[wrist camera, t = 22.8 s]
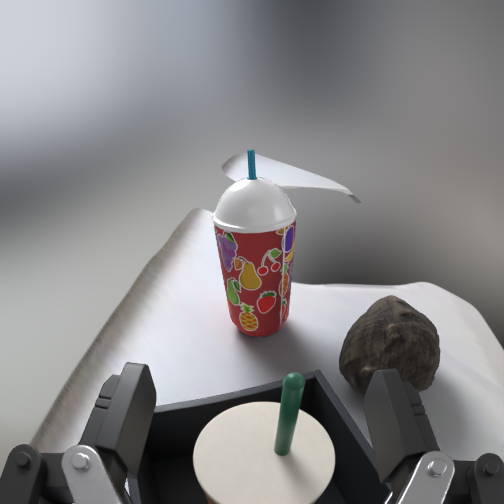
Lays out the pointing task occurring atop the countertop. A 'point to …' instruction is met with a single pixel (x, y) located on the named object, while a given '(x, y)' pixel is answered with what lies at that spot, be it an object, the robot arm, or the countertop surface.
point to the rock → (390, 345)
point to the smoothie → (256, 252)
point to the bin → (204, 410)
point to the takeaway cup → (265, 452)
